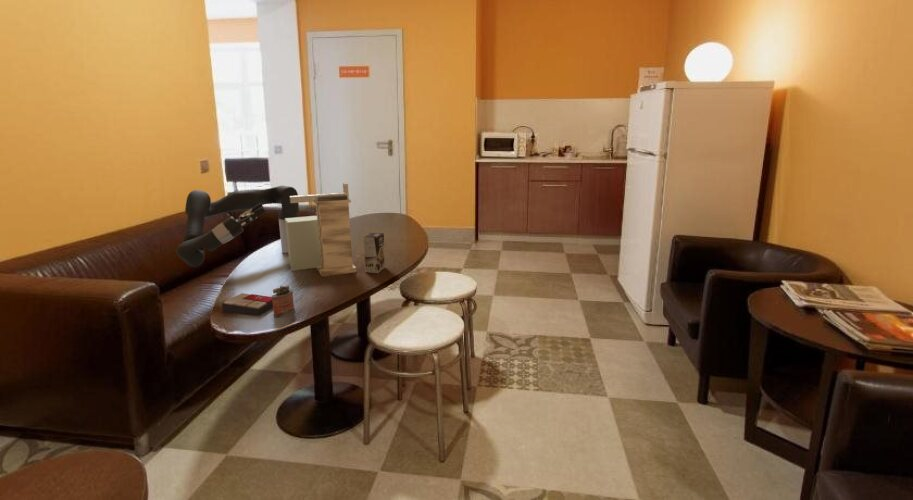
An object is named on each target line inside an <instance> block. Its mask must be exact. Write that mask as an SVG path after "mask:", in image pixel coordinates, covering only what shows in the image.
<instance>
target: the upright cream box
mask: <svg viewBox="0 0 913 500" xmlns="http://www.w3.org/2000/svg"><path fill="white" fill-rule="evenodd" d="M285 225H286V235H287V245H288V253H287V254H288V262H289V263H288V265H289V267H290V269H291V271H292V272H293V271H300V270H301V269H302V270H309V268H310V269H317V265H321V261H320V249H319V236H318V224H317V215H309V216H298V217H295V218H285ZM302 270H301V271H302Z"/></svg>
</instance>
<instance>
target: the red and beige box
mask: <svg viewBox="0 0 913 500" xmlns="http://www.w3.org/2000/svg"><path fill="white" fill-rule="evenodd" d="M221 306H222V307H221V308H222V314H232V315H233V314H237V315H244V316H250V317H251V316H252V317H254V316H255V317H261V316H262V315H264V314H266V313H267V312H269V311H271V310H272V309H273V301H272V297H271V296H268V295H260V294H255V293H251V294H250V293H244V292H242V293H239V294H237V295H235V296H233V297H231V298H230V299H227V300H226V301H224V302H223V303H221Z"/></svg>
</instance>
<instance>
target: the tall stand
mask: <svg viewBox="0 0 913 500" xmlns="http://www.w3.org/2000/svg"><path fill="white" fill-rule="evenodd" d="M313 203H315V209H316V211H315V212H316V216H317V224H318V236H319V249H320V261H321V265H317V268H316V269H317V271H318V273H319V274H320V276H321V277H322V276H323V277H329V276H330V275H331V276H336V275H346V274H351V273H357V267H356V266H355V264H354V263H353V252H352V239H351V238H352V237H351V236H352V235H351V222H350V221H351V220H350V207H349V206H350V205H349V203H352V200H351V199H347V196H337V197H323V198H318V201H315V202H313Z"/></svg>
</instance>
